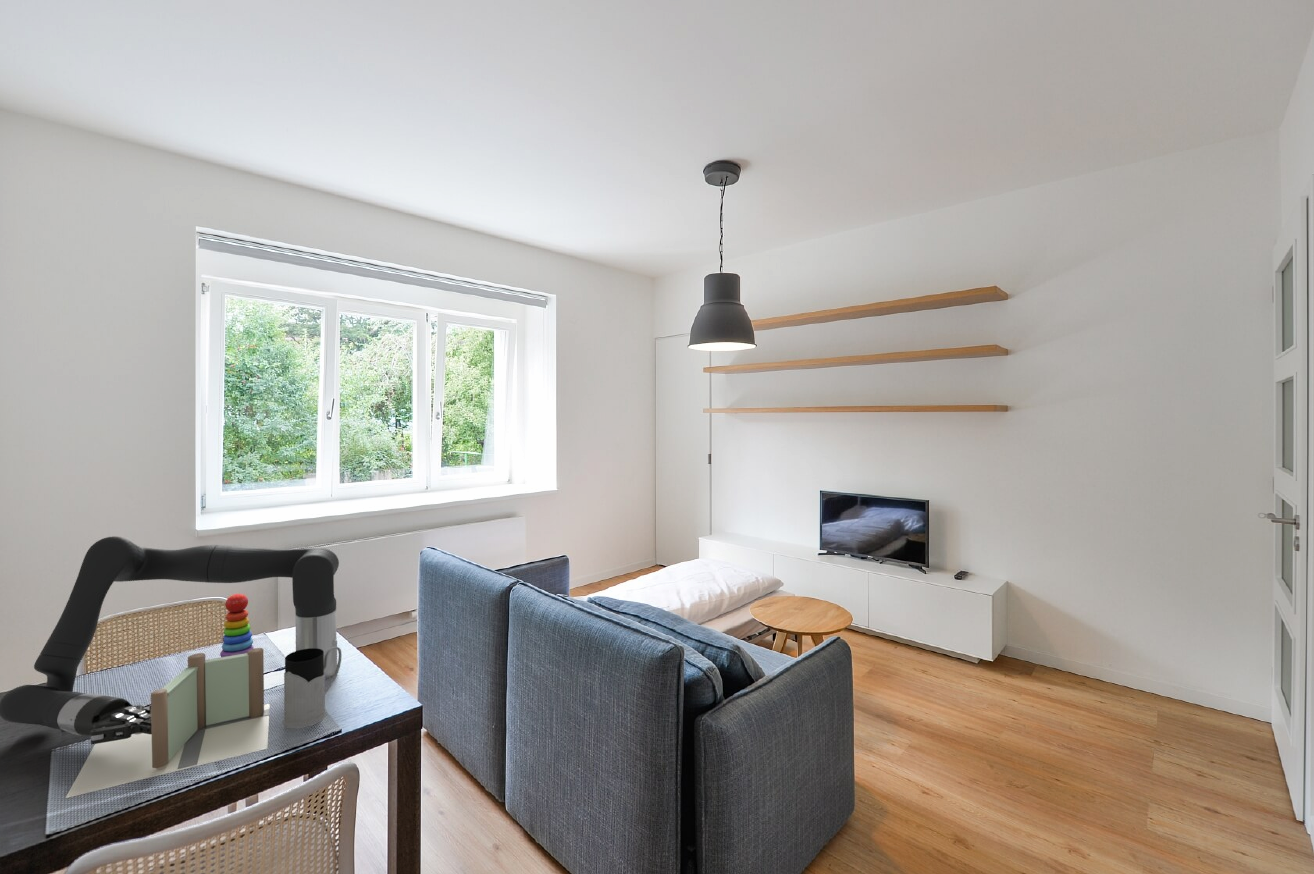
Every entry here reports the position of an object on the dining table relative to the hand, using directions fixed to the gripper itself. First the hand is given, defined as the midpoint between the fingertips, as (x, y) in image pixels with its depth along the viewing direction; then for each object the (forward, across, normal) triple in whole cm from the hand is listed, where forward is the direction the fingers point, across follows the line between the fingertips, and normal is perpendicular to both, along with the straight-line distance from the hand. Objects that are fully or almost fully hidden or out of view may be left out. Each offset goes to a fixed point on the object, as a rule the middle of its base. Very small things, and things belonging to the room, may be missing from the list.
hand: (161, 727), depth 115 cm
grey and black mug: (+15, +23, +7) cm, 28 cm away
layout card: (-2, +5, +7) cm, 9 cm away
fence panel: (0, +3, +6) cm, 7 cm away
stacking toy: (-26, +40, +7) cm, 48 cm away
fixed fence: (-1, +15, +7) cm, 16 cm away
